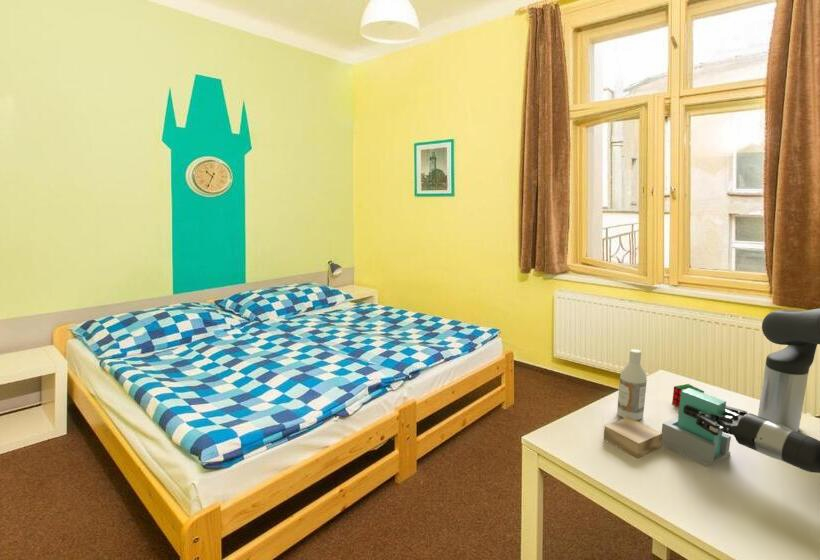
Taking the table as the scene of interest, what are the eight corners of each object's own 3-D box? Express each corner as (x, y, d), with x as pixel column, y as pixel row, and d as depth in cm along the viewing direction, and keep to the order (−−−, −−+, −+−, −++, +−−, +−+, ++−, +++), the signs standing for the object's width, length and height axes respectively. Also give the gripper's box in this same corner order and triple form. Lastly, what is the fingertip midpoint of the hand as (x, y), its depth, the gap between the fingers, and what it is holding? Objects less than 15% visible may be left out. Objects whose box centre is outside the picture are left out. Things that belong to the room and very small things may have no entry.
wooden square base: (626, 430, 131) (627, 416, 130) (660, 447, 123) (662, 433, 122) (603, 439, 127) (604, 425, 126) (637, 458, 118) (638, 443, 117)
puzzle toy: (671, 403, 147) (673, 386, 145) (686, 400, 148) (688, 383, 147) (687, 411, 141) (689, 394, 140) (702, 408, 143) (704, 391, 142)
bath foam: (611, 411, 142) (617, 348, 138) (631, 408, 144) (636, 345, 140) (628, 422, 135) (634, 356, 131) (648, 419, 137) (654, 353, 133)
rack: (679, 432, 130) (681, 413, 129) (730, 455, 119) (732, 435, 118) (656, 442, 125) (658, 423, 124) (707, 467, 114) (710, 446, 113)
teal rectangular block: (683, 437, 125) (689, 387, 122) (719, 453, 118) (726, 401, 115) (675, 440, 124) (681, 391, 121) (711, 457, 116) (718, 405, 113)
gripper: (784, 413, 109) (707, 386, 124) (751, 430, 102) (674, 399, 117) (779, 443, 111) (704, 413, 125) (747, 461, 104) (671, 427, 118)
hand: (690, 406), depth 121 cm, fingers open, 4 cm apart
